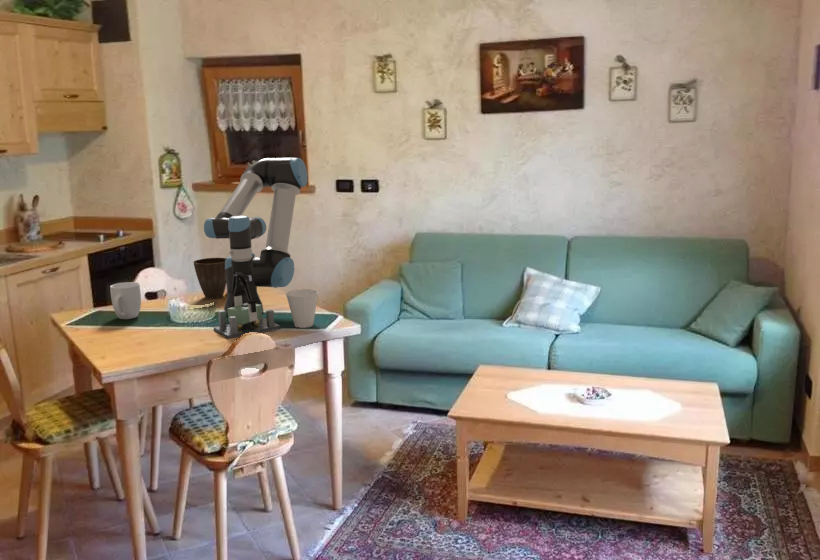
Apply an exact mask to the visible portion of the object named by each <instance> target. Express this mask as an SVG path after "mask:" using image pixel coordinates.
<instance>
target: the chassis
mask: <svg viewBox="0 0 820 560" xmlns="http://www.w3.org/2000/svg"><path fill="white" fill-rule="evenodd" d="M262 305H263V304H262ZM262 305H261V306H262ZM217 313H218V324H219V325H218V326H213V331H215V332H216V333H218V334H219V335H221V336H223V337H224V338H225V339H233V338H239V337H242V336H241V335H243V334H245V333H249V332H261V333H266V332H270V331H275V330H280V329H281V325H279V324H278V323H275V314H274V313H275V312H274V310H272V309H269V310H268V309H267V310H266V311H265V314H266V317H262V318H261V319H258V320H256V321H252V322H248V323H245V324H237V317H235V316H232V317H229V322H228V323H229V324H227V315H226V312H225V311H224V309H223V310H217Z"/></svg>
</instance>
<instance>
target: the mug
mask: <svg viewBox="0 0 820 560" xmlns="http://www.w3.org/2000/svg"><path fill="white" fill-rule="evenodd" d="M109 289H110V292H109V293H110V299H111V303H112V307H113V310H114V312H115V314H116V316H117V317H118V318H119V319H120V320H130V319H135V318H137V317H138V316H139V313H140V311H141V307H142V306H141V305H142V295H141V285H140V283H139V282H136V281H135V282H134V281H130V282H128V281H126V282H117V283H114V284H112V285H110V286H109Z"/></svg>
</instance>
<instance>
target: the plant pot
mask: <svg viewBox="0 0 820 560" xmlns="http://www.w3.org/2000/svg"><path fill="white" fill-rule="evenodd" d="M226 258H227V257H207V258H199V259H196V260H194V261H193V266H194V267H193V268H194V272H195V274H196V277H197V281H198V284H199V286H200V288H201V291H202V293H203V295H204V297H205V298H206V299H210V298H212V299H219V298H223V297H224V294H225V291H226V288H227V284H226V273H225V260H226Z"/></svg>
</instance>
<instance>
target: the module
mask: <svg viewBox="0 0 820 560" xmlns="http://www.w3.org/2000/svg"><path fill="white" fill-rule="evenodd" d="M256 308H257V320H258V319H261V318H263V311H262V306H261V305H260V304H256ZM232 316H235V317H237V324H245V323H248V322H250V321H249V309H248V304H247V303H245V304H241V305H238V306H235V307H231V308H228V315H227V319H228V320H227V321H228V323H229V317H232ZM251 322H252V321H251Z"/></svg>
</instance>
